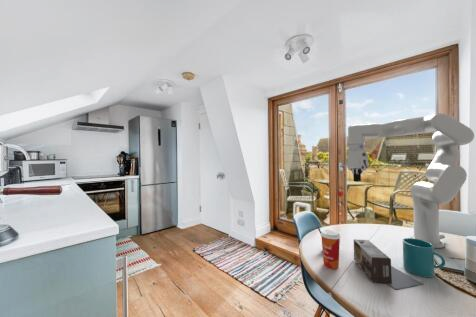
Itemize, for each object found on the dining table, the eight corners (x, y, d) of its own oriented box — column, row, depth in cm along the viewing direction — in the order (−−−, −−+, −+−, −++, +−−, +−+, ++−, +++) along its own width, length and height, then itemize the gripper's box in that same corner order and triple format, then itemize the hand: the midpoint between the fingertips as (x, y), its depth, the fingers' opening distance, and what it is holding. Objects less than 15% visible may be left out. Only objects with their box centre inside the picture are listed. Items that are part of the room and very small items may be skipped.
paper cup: (317, 261, 86) (317, 229, 86) (334, 260, 87) (333, 228, 87) (327, 271, 78) (326, 236, 78) (345, 270, 79) (344, 235, 79)
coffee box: (369, 260, 85) (392, 284, 69) (353, 259, 86) (372, 283, 70) (369, 239, 85) (391, 259, 69) (353, 238, 86) (371, 258, 70)
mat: (379, 260, 86) (379, 259, 86) (423, 284, 69) (423, 283, 69) (356, 263, 83) (356, 263, 83) (396, 289, 67) (396, 288, 67)
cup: (447, 284, 69) (447, 252, 69) (403, 272, 77) (402, 243, 77) (443, 272, 76) (443, 243, 76) (403, 262, 83) (402, 236, 83)
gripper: (374, 146, 100) (375, 182, 100) (351, 148, 115) (352, 179, 115) (362, 146, 98) (362, 183, 98) (340, 148, 113) (341, 180, 113)
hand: (357, 181), depth 107 cm, fingers closed
